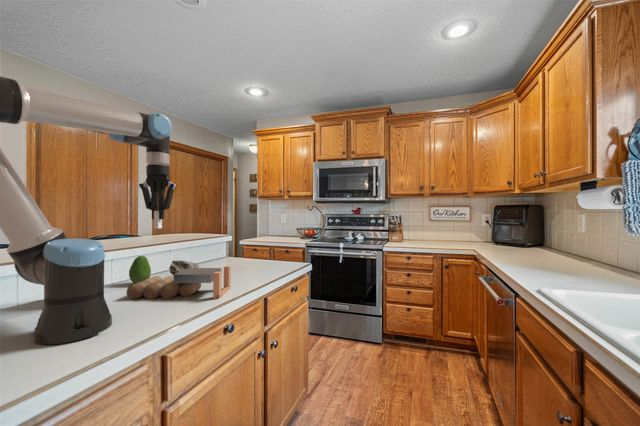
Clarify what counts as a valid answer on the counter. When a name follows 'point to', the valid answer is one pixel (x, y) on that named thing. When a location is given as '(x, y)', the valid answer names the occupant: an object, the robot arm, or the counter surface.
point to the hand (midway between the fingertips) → (158, 228)
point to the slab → (196, 275)
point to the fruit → (139, 270)
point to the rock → (181, 266)
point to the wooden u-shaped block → (217, 282)
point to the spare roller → (189, 288)
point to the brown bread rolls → (154, 288)
